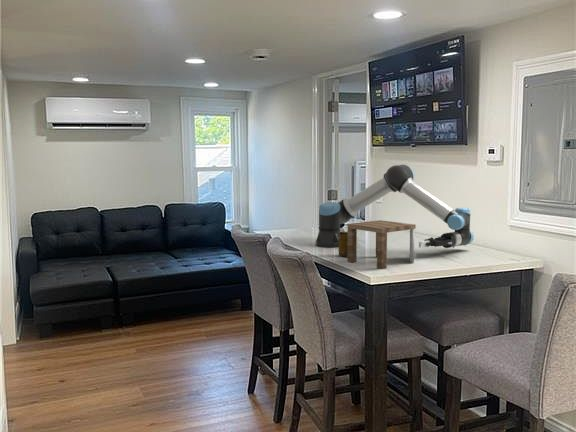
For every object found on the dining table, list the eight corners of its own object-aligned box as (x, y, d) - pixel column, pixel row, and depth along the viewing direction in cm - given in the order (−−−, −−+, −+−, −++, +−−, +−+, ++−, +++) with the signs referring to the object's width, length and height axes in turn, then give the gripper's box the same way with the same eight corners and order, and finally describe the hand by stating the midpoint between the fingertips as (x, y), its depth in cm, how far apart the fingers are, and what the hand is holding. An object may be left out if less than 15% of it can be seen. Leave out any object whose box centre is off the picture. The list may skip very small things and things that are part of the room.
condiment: (343, 254, 280) (343, 230, 279) (357, 256, 275) (357, 232, 273) (334, 256, 275) (334, 232, 274) (348, 258, 269) (348, 233, 268)
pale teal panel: (409, 262, 255) (410, 230, 254) (409, 256, 270) (410, 226, 268) (413, 262, 255) (414, 230, 253) (414, 256, 269) (414, 226, 268)
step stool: (381, 269, 243) (382, 228, 241) (347, 261, 260) (347, 223, 258) (414, 263, 256) (415, 224, 254) (379, 256, 273) (380, 220, 271)
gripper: (461, 248, 275) (430, 254, 260) (439, 245, 285) (409, 250, 271) (461, 234, 274) (431, 238, 260) (439, 231, 284) (409, 235, 270)
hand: (420, 244), depth 265 cm, fingers closed
